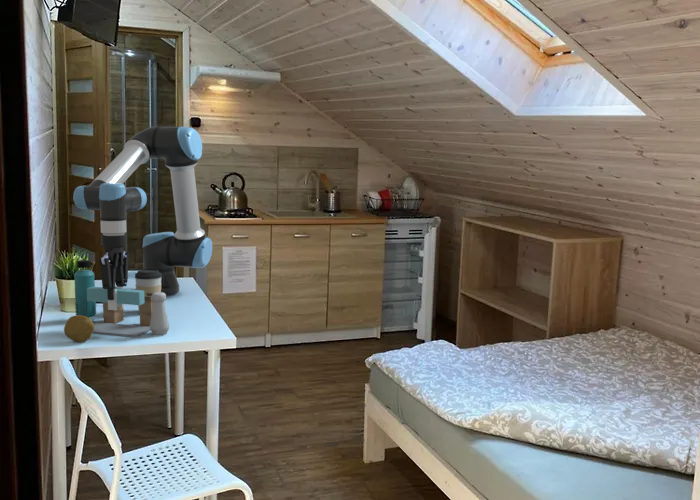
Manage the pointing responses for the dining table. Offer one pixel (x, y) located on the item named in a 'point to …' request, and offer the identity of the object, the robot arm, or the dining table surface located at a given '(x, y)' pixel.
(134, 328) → the mat
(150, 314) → the post
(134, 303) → the rail
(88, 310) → the beverage bottle
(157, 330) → the salt shaker
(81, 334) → the potato
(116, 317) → the post
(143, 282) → the coffee cup
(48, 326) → the dining table surface
